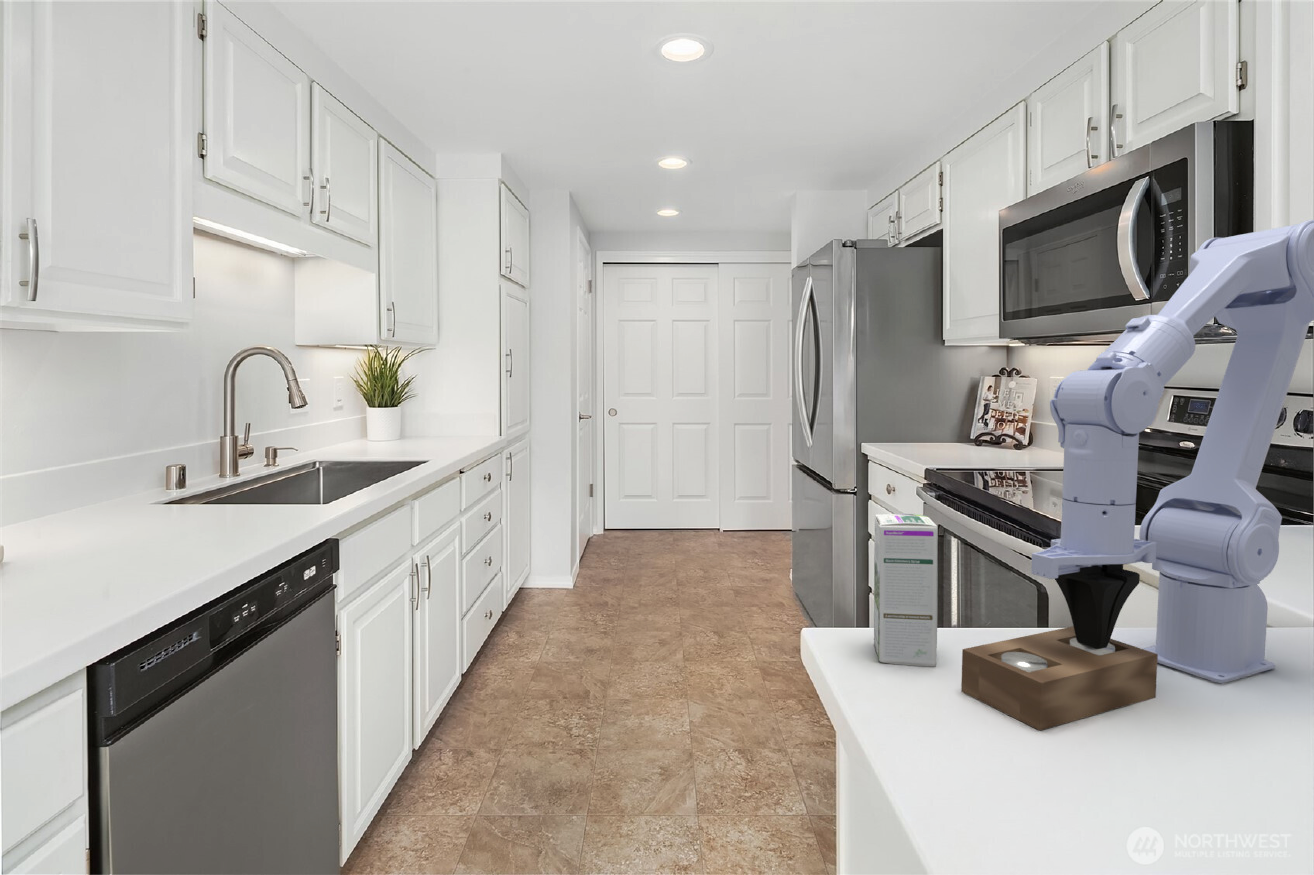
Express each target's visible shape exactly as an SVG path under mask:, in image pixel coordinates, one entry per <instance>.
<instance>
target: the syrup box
mask: <svg viewBox="0 0 1314 875" xmlns="http://www.w3.org/2000/svg"><path fill="white" fill-rule="evenodd" d="M938 528H939V527H938V525H937V524H936V523H935V522H934V521H933V520H932V519H931V518H930V517H929V516H928V515H924V514H915V513H914V514H913V513H885V514H884V513H883V514H875V515H874V542H873V544H874V546H873V548H874V552H873V553H874V554H873V555H874V556H873V557H874V558H873V560H874V561H873V562H874V565H873V566H874V574H873V575H874V579H873V580H874V582H873V595H874V596H873V644H874V647H875V652H876V655H877V658H878V662H880V663H884V664H890V665H891V664H892V665H902V666H903V665H904V666H917V667H933V668H934V667H937V662H938V661H937V660H938V659H937V656H938V654H937V653H938V652H937V648H938V646H937V645H938V584H939V583H938V580H939V579H938V541H939V537H938V535H939V534H938V531H939V529H938Z"/></svg>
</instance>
